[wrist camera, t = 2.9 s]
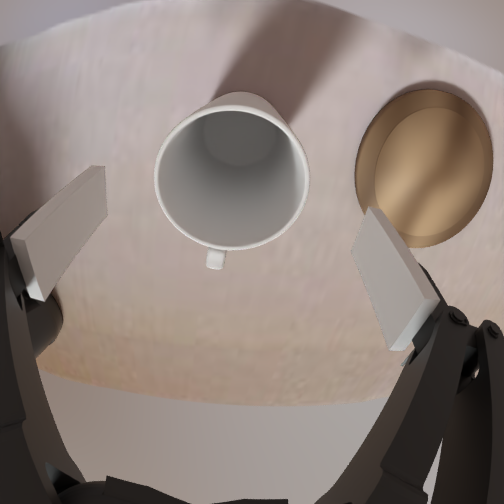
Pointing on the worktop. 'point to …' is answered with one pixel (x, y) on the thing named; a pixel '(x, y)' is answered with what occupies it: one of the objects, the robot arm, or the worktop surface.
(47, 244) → the robot arm
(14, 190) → the worktop surface
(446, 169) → the disc
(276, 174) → the mug
